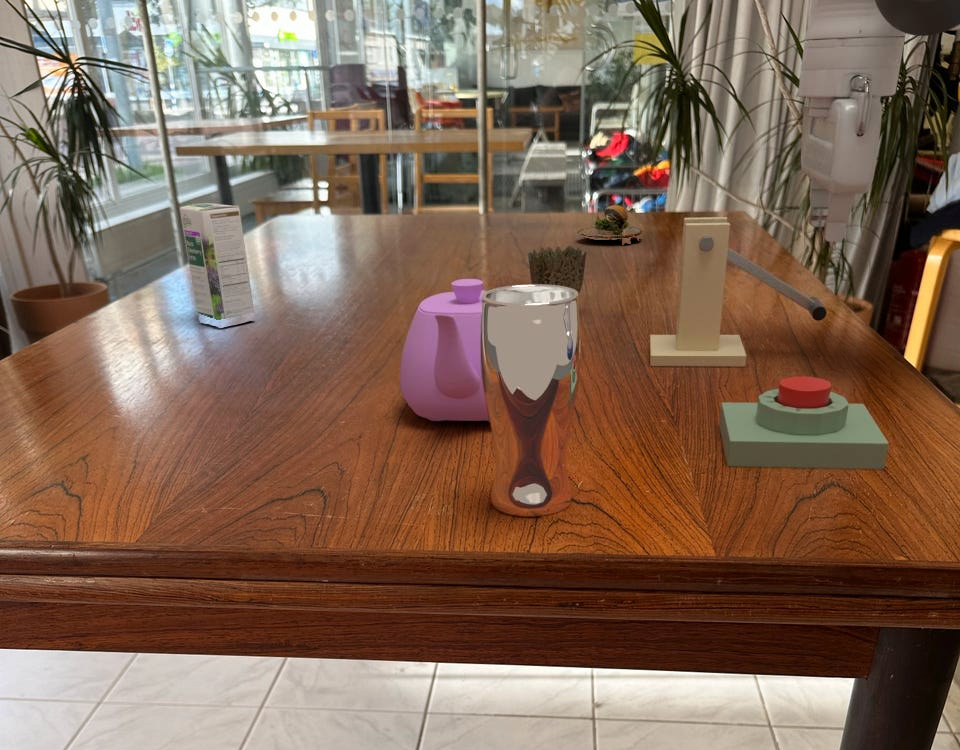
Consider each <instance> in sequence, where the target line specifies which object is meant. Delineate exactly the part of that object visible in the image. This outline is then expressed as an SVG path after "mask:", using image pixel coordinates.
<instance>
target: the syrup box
mask: <svg viewBox="0 0 960 750" xmlns="http://www.w3.org/2000/svg"><path fill="white" fill-rule="evenodd" d="M179 213H180V219H181V225H182V232H183V237H184V243H185V248H186V249H185V250H186V255H187V260H188V267H189V274H190V279H191V284H192V289H193V290H192V291H193V296H194V301H195V307H196V314H197V313H199V314H201V315H204V316H207V317H210V318H214V319H216V320H221V319H227V318H231V317H236V316H241V315H245V314H249V313H255V307H254V300H253V299H254V298H253V294H252V293H253V292H252V286H251V279H250V271H249V265H248V259H247V258H248V257H247V251H246V244H245V243H246V242H245V238H244V230H243V224H242V217H241V210H240V205H229V204H221V203H207V202H204V203H191V204H187V205H183V206H180V207H179Z"/></svg>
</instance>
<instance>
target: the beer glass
mask: <svg viewBox="0 0 960 750" xmlns="http://www.w3.org/2000/svg"><path fill="white" fill-rule="evenodd" d="M485 291H486V292H484V293H483V294H482V296H481V298H482V310H481V330H480V362H481V377H482V384H483V390H484V397H485V402H486V407H487V411H488V416H489V421H490V422H489V425H490V430H491V436H492V441H493V447H494V455H495V456H494V457H495V461H494V463H495V467H494V477H493V484H492V489H491V496H490V501H491V505H492V506H493V508H495V509H496V510H497V511H499V512H501V513H502V514H505V515H509V516H514V517H523V518H537V517H544V516H550V515H554V514H557V513H560V512H562V511H564V510H565V509H567V508H568V507H569V506H570V505H571V503H572V498H573V497H572V491H571V486H570V480H569V474H568V461H567V460H568V458H567V456H568V443H569V438H570V431H571V427H572V422H573V416H574V411H575V406H576V401H577V395H578V389H579V382H580V376H581V375H580V372H581V351H582V350H581V349H582V348H581V321H580V320H581V319H580V307H579V305H580V304H579V296H580V293H578V292H577V291H576V290H575V289H572V288H569V287H565V286H558V285H546V284H532V283H531V284H529V283H528V284H514V285H507V286H500V287H495V288H491V289H489V290H485Z"/></svg>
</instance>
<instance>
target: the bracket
mask: <svg viewBox="0 0 960 750" xmlns="http://www.w3.org/2000/svg"><path fill="white" fill-rule="evenodd" d="M700 220H701V221H702V222H704V223H699V221H700ZM730 223H731V222H728V217H727V216H711V217H707V216H706V217H705V216H703V217H684V218H683V229H682V242H681V258H680V269H679V270H680V271H679V283H678V284H679V285H678V297H677V298H678V300H677V312H676V313H677V314H676V326H675V334H650V335H649V366H650V367H705V368H706V367H711V368H712V367H715V368H716V367H719V368H720V367H721V368H722V367H723V368H724V367H725V368H727V367H729V368H733V367H734V368H735V367H736V368H739V367H740V368H741V367H742V368H745V367H746V365H747V353H746V350H745V347H744V344H743V342H742V339H741V335H740V334H721V327H722V326H721V325H722V315H723V305H724V304H723V303H724V294H725V285H726V284H725V283H726V271H727V265H728V264H727V262H728V260H727V253H728V247H729V242H730V232H731V224H730Z"/></svg>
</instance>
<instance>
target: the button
mask: <svg viewBox="0 0 960 750" xmlns="http://www.w3.org/2000/svg"><path fill="white" fill-rule="evenodd" d="M778 389H779V391H778V399H777V403H779V404H781V405H783V406H787V407H793V408H799V409H816V408H822V407H827V406H828V403H829V397H830V391H831V390H832V383H831V382H830V381H828V380H826V379H823V378H819V377H813V376H790V377H786V378H783V379H781V380H780V381H779V385H778Z"/></svg>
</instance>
